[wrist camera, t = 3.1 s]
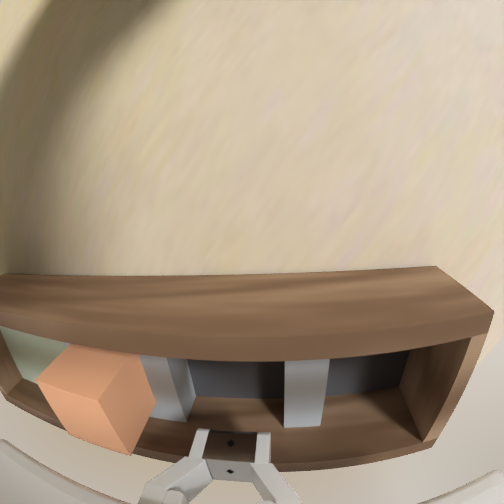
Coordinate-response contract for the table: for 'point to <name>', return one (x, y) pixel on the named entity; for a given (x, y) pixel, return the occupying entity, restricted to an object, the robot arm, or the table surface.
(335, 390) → the box
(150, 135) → the table surface
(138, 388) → the block
